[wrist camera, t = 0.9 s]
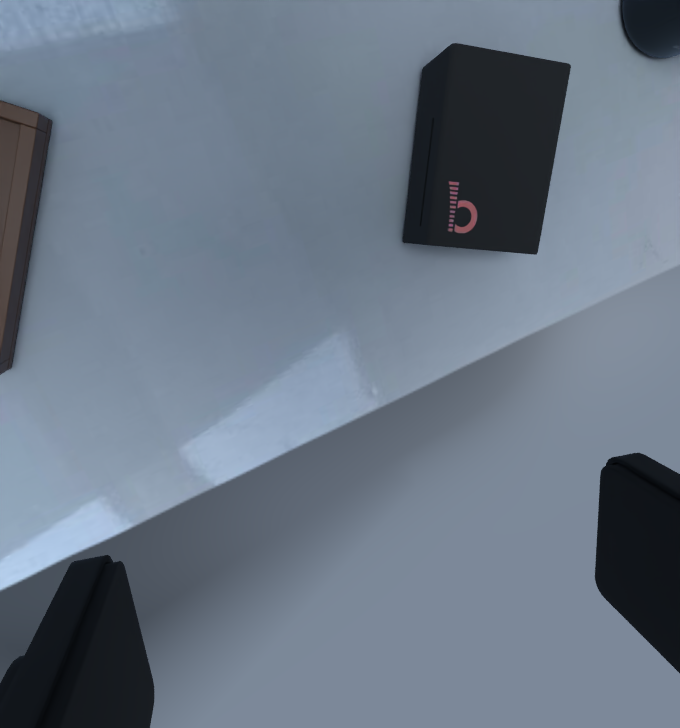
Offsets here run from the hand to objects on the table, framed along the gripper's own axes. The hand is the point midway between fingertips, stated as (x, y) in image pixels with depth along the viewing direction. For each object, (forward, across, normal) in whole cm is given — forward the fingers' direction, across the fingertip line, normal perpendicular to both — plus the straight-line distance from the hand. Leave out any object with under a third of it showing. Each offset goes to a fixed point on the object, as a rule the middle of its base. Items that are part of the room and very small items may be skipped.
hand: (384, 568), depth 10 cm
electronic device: (+26, -14, -9) cm, 31 cm away
